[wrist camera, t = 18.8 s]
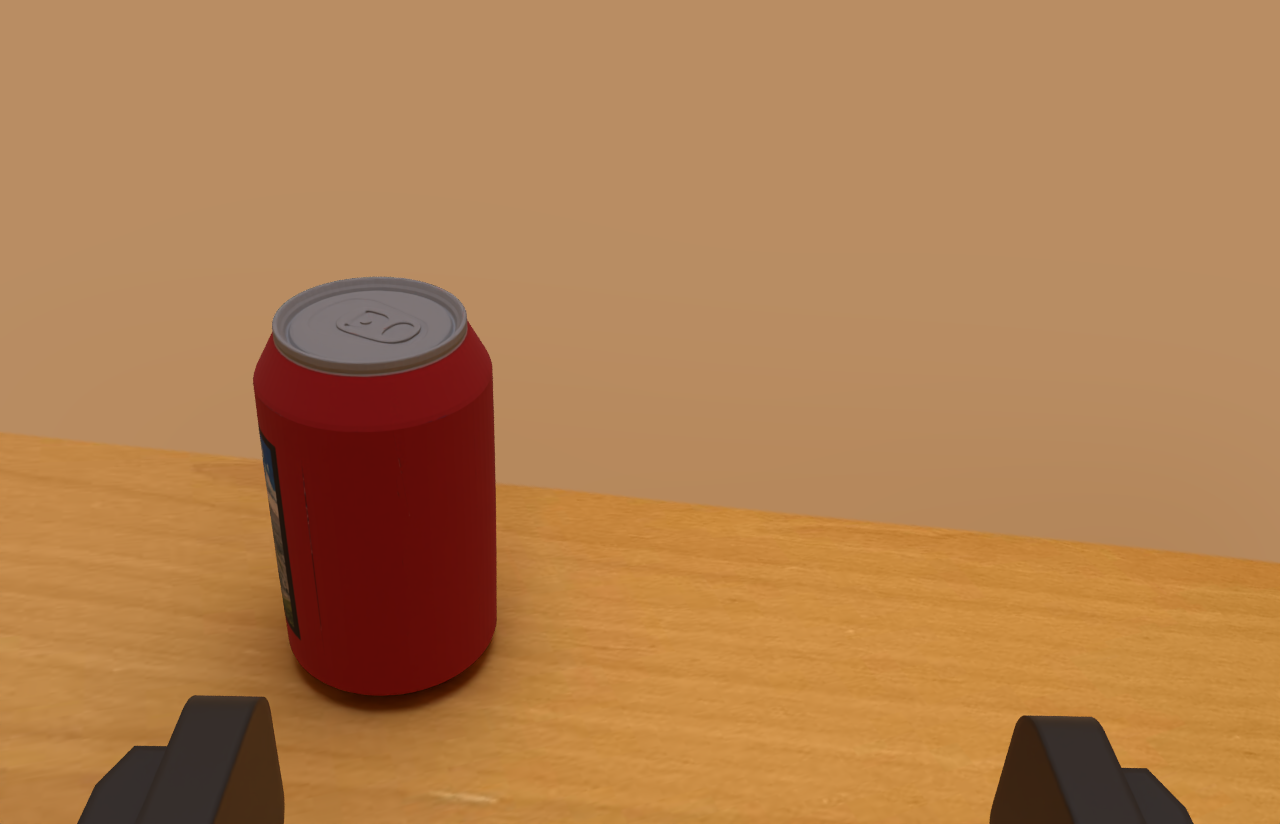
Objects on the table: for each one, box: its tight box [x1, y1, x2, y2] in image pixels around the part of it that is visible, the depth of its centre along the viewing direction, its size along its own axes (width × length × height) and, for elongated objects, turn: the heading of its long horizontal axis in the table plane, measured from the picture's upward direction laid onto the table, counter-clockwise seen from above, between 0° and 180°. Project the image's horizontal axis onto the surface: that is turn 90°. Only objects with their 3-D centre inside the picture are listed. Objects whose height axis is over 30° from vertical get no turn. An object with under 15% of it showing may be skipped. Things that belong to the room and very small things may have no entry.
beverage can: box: [253, 277, 497, 696], centre depth 37 cm, size 7×7×12 cm
